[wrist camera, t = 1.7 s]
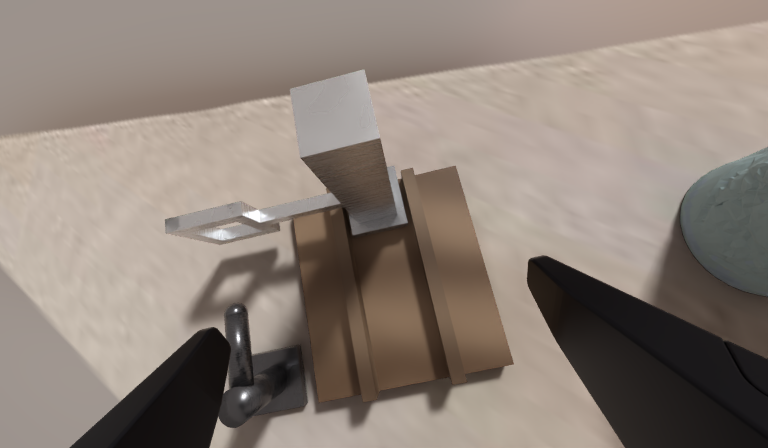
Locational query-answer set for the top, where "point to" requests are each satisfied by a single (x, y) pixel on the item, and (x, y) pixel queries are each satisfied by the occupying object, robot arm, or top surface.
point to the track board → (399, 295)
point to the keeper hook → (258, 374)
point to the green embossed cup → (731, 222)
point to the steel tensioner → (320, 169)
